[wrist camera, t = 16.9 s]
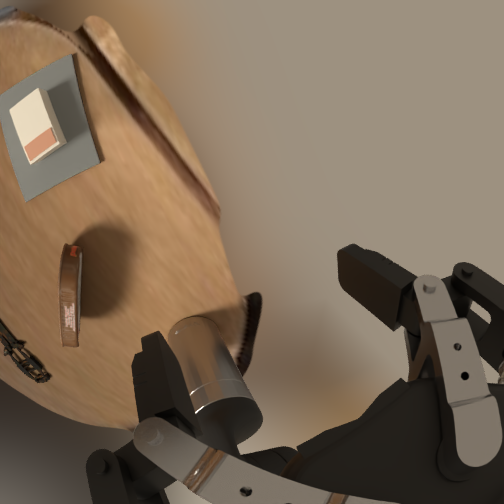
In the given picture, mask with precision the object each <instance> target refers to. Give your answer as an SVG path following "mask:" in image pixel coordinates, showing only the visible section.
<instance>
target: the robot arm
mask: <svg viewBox="0 0 504 504" xmlns="http://www.w3.org/2000/svg"><path fill="white" fill-rule="evenodd" d="M337 260H338V279H339V282H340V285H341V287H342V288H343V290H344V291H346V292H347V293H348V294H349V295H350V296H351V297H353V298H354V299H355V300H356V301H358V302H359V303H360V304H361V305H362V306H364V307H365V308H366V309H367V310H368V311H370V312H371V313H372V314H373V315H375V316H376V317H377V318H378V319H379V320H381V321H382V322H383V323H384V324H385V325H387V326H388V327H389V328H390V329H391V330H392V331H395V330H396V329H398V328H399V327H400V326H403V327H405V329H404V336H405V342H406V349H407V355H408V363H409V375H408V382H405V381H404V380H403V379H402V378H400V379H399V380H398V381H396V382H395V383H394V384H392V385H391V386H390V387H389V388H387V389H386V390H385V391H384V392H382V393H381V394H380V395H379V396H378V397H377V398H376V399H375V401H374V402H373V403H372V404H371V405H370V406H369V408H368V409H367V410H366V411H365V412H364V413H363V414H362V416H361V417H360V418H358V419H356V420H354V421H351V422H349V423H346V424H343V425H341V426H338V427H335V428H332V429H329V430H326V431H324V432H322V433H321V434H319V435H317V436H315V437H314V438H312V439H310V440H308V441H306V442H304V443H302V444H301V445H299V446H297V450H298V451H296V450H295V449H293V448H290V447H286V446H285V447H284V446H283V447H276V448H272V449H268V450H263V451H258V452H254V453H249V454H243V455H240V453H239V450H238V448H237V445H238V444H239V443H241V442H243V441H245V440H246V439H248V438H249V437H251V436H252V435H253V434H254V433H256V432H257V430H258V429H259V428H260V427H261V425H262V422H263V416H262V413H261V411H260V409H259V407H258V406H257V404H256V402H255V400H254V398H253V396H252V395H251V393H250V391H249V389H248V388H247V385H246V384H245V382H244V380H243V378H242V376H241V374H240V372H239V370H238V368H237V366H236V364H235V362H234V360H233V358H232V356H231V354H230V352H229V350H228V348H227V346H226V344H225V342H224V340H223V338H222V336H221V334H220V332H219V330H218V328H217V326H216V324H215V323H214V322H213V321H211V320H210V319H207V318H204V317H189V318H186V319H183V320H181V321H180V322H178V323H177V324H175V325H174V326H173V328H172V329H171V330H170V332H169V335H168V344H169V345H168V344H167V342H166V340H165V339H164V337H163V336H162V334H161V333H160V332H159V331H156V332H154V333H151V334H149V335H146V336H144V337H142V338H141V342H142V350H143V351H142V352H140V353H137V354H135V356H134V359H133V362H132V365H131V366H132V376H133V384H134V387H135V388H134V392H135V399H136V405H137V412H138V418H139V424H138V425H137V427H136V428H135V430H134V433H133V439H132V440H131V441H130V442H129V443H128V444H126V445H125V446H123V447H121V448H120V449H118V450H117V451H115V452H114V453H112V452H111V451H109V450H106V449H99V450H96V451H95V452H93V453H92V454H91V455H90V456H89V458H88V460H87V463H86V472H87V477H88V483H89V488H90V492H91V497H92V501H93V504H170V503H169V500H168V498H167V496H166V493H165V490H164V488H166V487H167V486H169V485H170V484H172V483H173V482H175V481H177V480H178V481H180V482H182V483H183V484H184V485H186V486H187V487H188V489H189V490H191V491H192V492H193V493H195V494H197V495H198V496H200V497H202V498H203V499H205V500H207V501H209V502H210V503H212V504H504V285H503V284H501V283H500V282H498V281H497V280H495V279H494V278H492V277H491V276H490V275H488V274H487V273H485V272H483V271H482V270H481V269H479V268H477V267H476V266H474V265H473V264H470V263H466V262H462V263H458V264H456V265H455V266H454V269H453V273H452V275H451V276H449V277H446V278H443V279H439V278H438V277H435V276H432V275H423V276H420V277H417V276H415V275H414V274H412V273H410V272H409V271H407V270H406V269H404V268H402V267H401V266H399V265H398V264H396V263H393V261H391V260H389V259H388V258H387V259H386V257H384V256H383V255H381V254H379V253H378V252H375V251H371V250H367V249H366V250H364V249H363V248H361V247H359V246H358V245H356V244H350V245H348V246H346V247H344V248H342V249H340V250H339V251H338V253H337ZM472 301H475V302H476V303H477V304H479V305H480V306H481V307H482V308H484V309H485V310H486V311H488V312H489V314H490V315H491V322H490V324H488V323H487V322H486V321H485V320H483V319H482V318H481V317H480V316H479V315H477V314H476V313H475V312H473V311H472V310H471V309H470V307H471V304H472ZM480 356H481V357H482V358H483V359H484V360H485V361H487V363H488V364H490V365H491V366H492V367H493V368H494V369H495V370H496V371H497V372H498V373H499V375H500V377H499V379H498V384H493V383H487V381H486V377H485V373H484V369H483V365H482V362H481V358H480Z"/></svg>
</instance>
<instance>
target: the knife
mask: <svg viewBox="0 0 504 504" xmlns="http://www.w3.org/2000/svg"><path fill="white" fill-rule="evenodd" d="M2 335H3V336H4V337H5V338H6V339H7V340H8V341H7V340H6V339H5V338H4V337H3V336H2ZM0 342H1V343H2V344H3V345H4V346H5V348H4V355H5V356H6V355H8V354H9V355H10V356H11V358H12V360H13V361H14V362H15V363H16V364H17V367H19V369H20V370H21V371H22V372H24V374H26V375H27V376H28V377H30V378H31V379H33V380H35V381H36V382H37V383H40V382H41V383H44V382H47V381H48V380H50V375H49V374H48V373H47V374H45V375H44V374H43V372H42V366H41V364H39V362H38V361H37V360H36V359H35V358H34V357H33V356H31V355H30V358H29V357H28V356H27V355H26V354H25V353H24V352H22V351H21V349H22V347H24V342H22V343H19V341H18V340H17V341H15V340H14V339H13V337H12V336H11V335H10V334H9V333H8V332H7V330H6V329H5V328H4V327H3V325H2V324H1V323H0ZM8 342H9V343H10V344H11V345H10V344H9V343H8ZM12 348H14V349H15V348H16V349H17V350H18V351H19V352H20V353H21V354H22V355H23V356H24V357H25V358H26V359H25V360H23V361H22V363H21V364H20V363H19V362H18V361H17V360H16V359H15V358H14V357H13V356H12V354H13V352H12ZM23 364H27V365H26V366H25V367H23V366H22V365H23ZM30 364H31V365H32V366H33V367H34V368H33V369H31V370H28V371H27V370H26V368H27V367H28V366H29V365H30ZM34 370H37V371H39V372H40V373H41V374H42V375H40V374H38V376H37V377H35V378H34V377H33V376H32V375H31V374H30V373H29V372H31V371H34ZM42 376H44V377H42ZM40 377H41V378H40ZM38 378H39V379H38Z"/></svg>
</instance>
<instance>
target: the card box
mask: <svg viewBox="0 0 504 504" xmlns="http://www.w3.org/2000/svg"><path fill="white" fill-rule="evenodd" d="M9 111H10V114H11V117H12V120H13V123H14V126H15V128H16V131H17V134H18V136H19V139H20V142H21V144H22V146H23V149H24V151H25V154H26V156H27V158H28V161H29V163H30V165H32V164H35V163H37V162H40V161H41V160H43V159H44V158H45V157H47V156H48V155H50V154H51V153H52V152H54V151H55V150H57V149H58V148H60V147H61V146H63V145H64V144H66V143H67V141H66V139H65V137H64V134H63V132H62V130H61V127H60V125H59V122H58V120H57V117H56V115H55V112H54V109H53V107H52V104H51V101H50V99H49V96H48V93H47V91H45V90H43V89H40V88H37V89H36V90H34V91H33V92H31V93H30V94H29V95H27V96H26V97H25V98H24V99H22V100H21V101H20V102H18V103H17V104H16V105H15V106H13V107H12V108H11V109H10V110H9Z"/></svg>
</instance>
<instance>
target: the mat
mask: <svg viewBox="0 0 504 504" xmlns="http://www.w3.org/2000/svg"><path fill="white" fill-rule="evenodd" d="M37 88H40V89H43V90H45V91H47V93H48V96H49V99H50V101H51V104H52V107H53V109H54V112H55V115H56V117H57V120H58V122H59V125H60V127H61V130H62V132H63V134H64V137H65V139H66V141H67V143H66V144H64V145H63V146H61V147H60V148H58V149H57V150H55V151H54V152H52V153H51V154H50V155H48V156H47V157H45V158H44V159H43V160H41V161H40V162H37V163H35V164H32V165H30V163H29V161H28V158H27V156H26V154H25V151H24V149H23V146H22V144H21V142H20V139H19V136H18V134H17V131H16V128H15V126H14V123H13V120H12V117H11V114H10V111H9V110H10V109H11V108H12V107H13V106H15V105H16V104H17V103H18V102H20V101H21V100H22V99H24V98H25V97H26V96H27V95H29V94H30V93H31V92H33V91H34V90H36V89H37ZM0 120H1V125H2V129H3V133H4V137H5V141H6V145H7V149H8V152H9V156H10V159H11V162H12V165H13V168H14V171H15V174H16V177H17V180H18V183H19V186H20V189H21V191H22V194H23V196H24V199H25V201H26V202H27V201H29V200H31V199H32V198H34V197H36V196H37V195H39V194H41V193H43V192H44V191H46V190H48V189H50V188H51V187H53V186H55V185H57V184H59V183H61V182H62V181H64V180H66V179H68V178H70V177H72V176H74V175H76V174H78V173H80V172H82V171H84V170H86V169H88V168H90V167H93V166H95V165H97V164H99V163H101V162H100V159H99V156H98V153H97V150H96V147H95V144H94V141H93V138H92V134H91V131H90V128H89V124H88V121H87V117H86V114H85V110H84V106H83V102H82V98H81V94H80V90H79V86H78V81H77V77H76V72H75V67H74V62H73V57H72V54H69V55H67V56H65V57H63V58H61V59H59V60H57V61H55V62H53V63H51V64H50V65H48V66H46V67H44V68H42V69H40V70H39V71H37V72H35V73H34V74H32V75H30V76H29V77H27V78H25V79H24V80H22V81H21V82H19V83H17V84H16V85H14V86H13V87H11V88H10V89H8V90H7V91H6V92H4V93H3V94H1V95H0Z"/></svg>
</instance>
